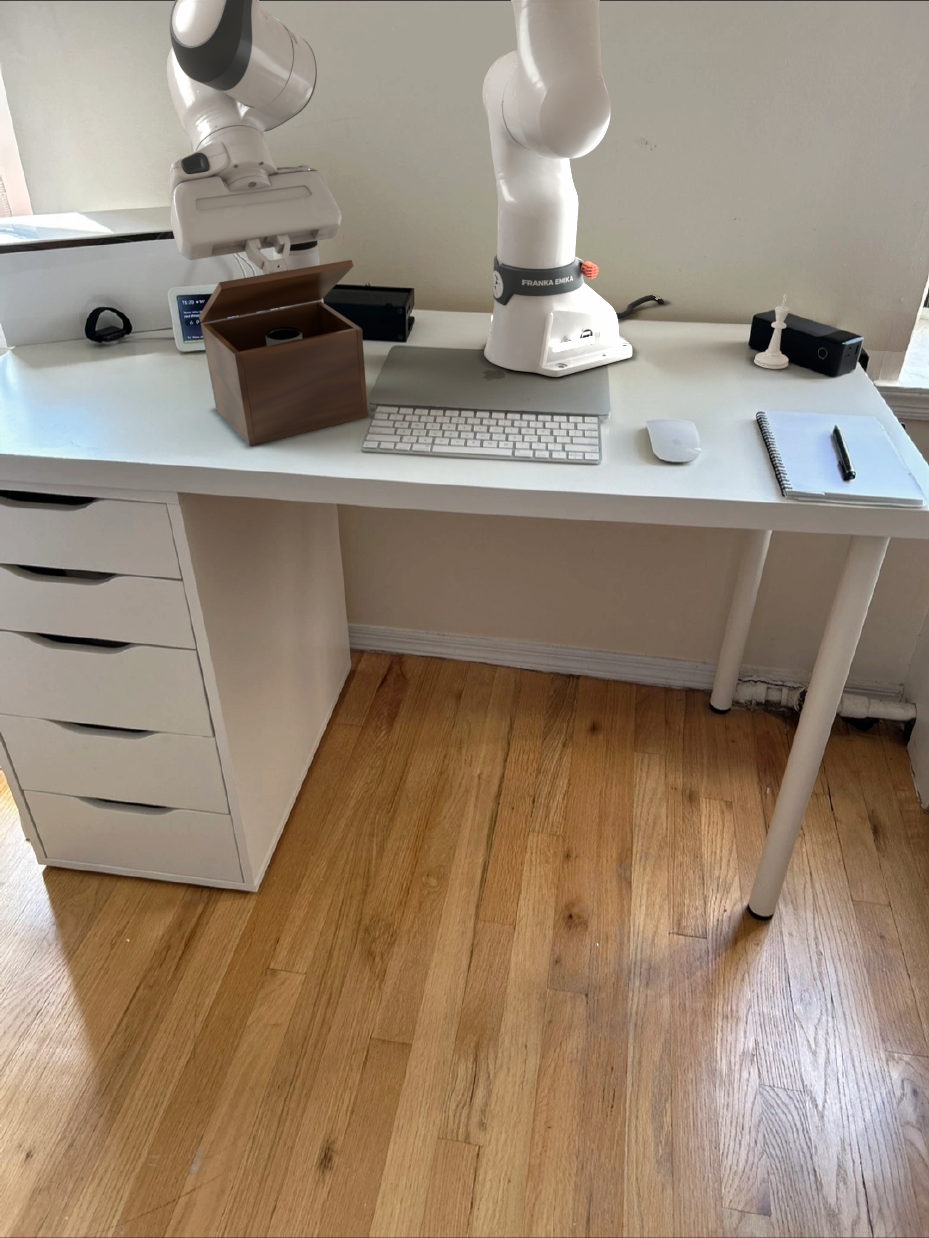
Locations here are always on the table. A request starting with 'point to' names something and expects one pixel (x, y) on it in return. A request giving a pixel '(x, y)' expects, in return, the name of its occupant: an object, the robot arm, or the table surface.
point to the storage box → (286, 372)
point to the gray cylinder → (282, 335)
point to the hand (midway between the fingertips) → (279, 277)
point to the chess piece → (775, 342)
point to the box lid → (273, 290)
